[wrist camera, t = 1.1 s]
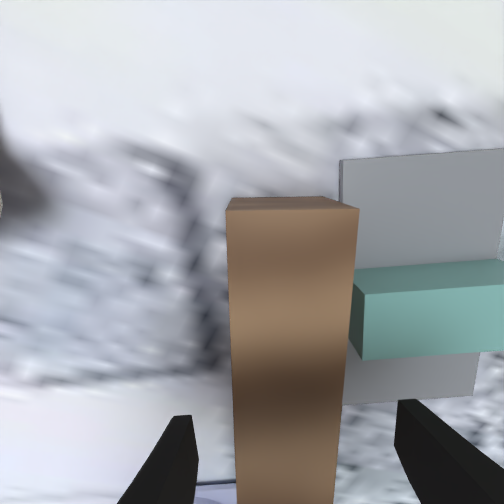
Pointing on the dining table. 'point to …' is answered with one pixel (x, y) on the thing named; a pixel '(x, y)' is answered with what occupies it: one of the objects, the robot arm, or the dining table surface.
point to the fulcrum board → (417, 234)
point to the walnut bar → (288, 342)
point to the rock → (1, 204)
